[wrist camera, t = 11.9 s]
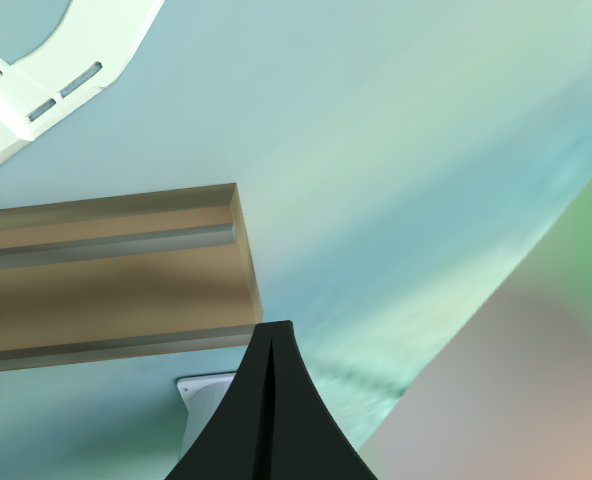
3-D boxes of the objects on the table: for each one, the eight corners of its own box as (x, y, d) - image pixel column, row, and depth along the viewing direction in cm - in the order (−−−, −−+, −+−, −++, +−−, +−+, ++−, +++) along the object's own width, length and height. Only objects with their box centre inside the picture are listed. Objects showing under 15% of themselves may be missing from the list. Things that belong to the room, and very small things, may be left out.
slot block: (262, 311, 25) (260, 353, 22) (-35, 343, 25) (-81, 389, 22) (236, 182, 20) (227, 212, 16) (-137, 225, 20) (-217, 262, 17)
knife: (289, -457, 10) (392, -122, 13) (287, -391, 11) (380, -105, 15) (-284, 110, 15) (-108, 239, 19) (-237, 105, 17) (-82, 226, 20)
